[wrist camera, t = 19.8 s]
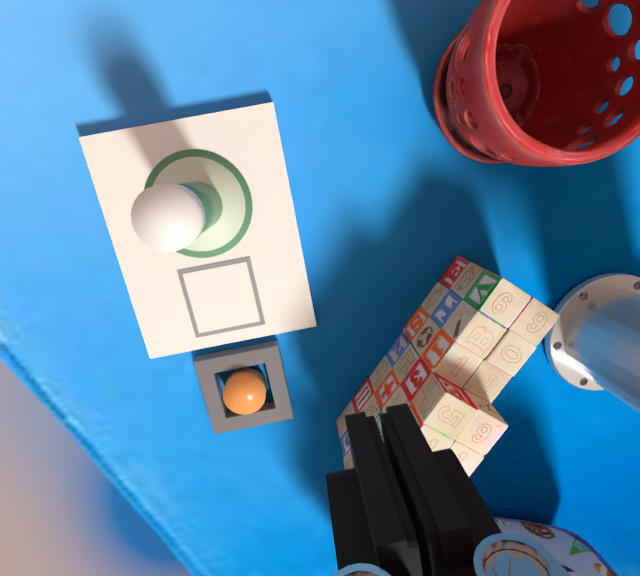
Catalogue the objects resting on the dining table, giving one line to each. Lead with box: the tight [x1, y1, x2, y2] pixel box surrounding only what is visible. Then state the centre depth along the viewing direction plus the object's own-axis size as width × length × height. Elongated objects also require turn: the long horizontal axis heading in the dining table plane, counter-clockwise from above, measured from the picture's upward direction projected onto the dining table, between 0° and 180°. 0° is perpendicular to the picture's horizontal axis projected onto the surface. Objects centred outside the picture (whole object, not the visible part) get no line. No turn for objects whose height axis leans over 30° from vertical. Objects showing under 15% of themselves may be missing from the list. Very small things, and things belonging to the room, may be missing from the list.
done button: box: [223, 367, 266, 415], centre depth 41 cm, size 4×4×2 cm
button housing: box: [194, 340, 294, 434], centre depth 41 cm, size 8×8×2 cm
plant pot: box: [433, 0, 640, 167], centre depth 31 cm, size 13×13×12 cm
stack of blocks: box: [336, 256, 560, 477], centre depth 37 cm, size 21×6×12 cm, turn 147°
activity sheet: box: [79, 102, 317, 359], centre depth 37 cm, size 16×20×1 cm
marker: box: [131, 182, 223, 252], centre depth 31 cm, size 4×4×10 cm
